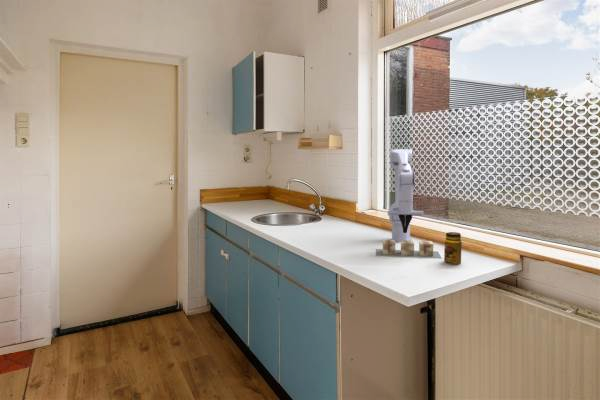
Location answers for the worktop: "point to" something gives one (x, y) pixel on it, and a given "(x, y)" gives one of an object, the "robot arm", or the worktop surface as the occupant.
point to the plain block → (407, 247)
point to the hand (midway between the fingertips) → (404, 232)
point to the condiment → (452, 248)
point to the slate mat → (416, 255)
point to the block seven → (425, 248)
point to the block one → (389, 247)
